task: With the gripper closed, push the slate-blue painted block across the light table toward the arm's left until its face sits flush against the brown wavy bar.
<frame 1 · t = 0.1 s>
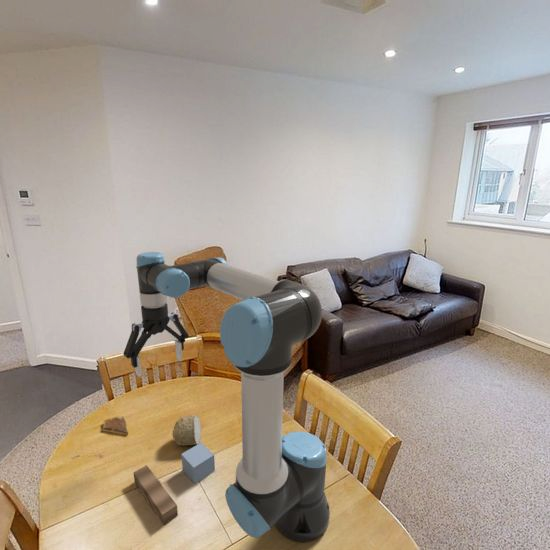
hand: (159, 367, 112), 28 cm above the table, fingers open, 13 cm apart
cut rock: (188, 441, 120), on the table
brown wavy bar: (155, 497, 99), on the table
block: (198, 470, 108), on the table
shard: (119, 427, 127), on the table
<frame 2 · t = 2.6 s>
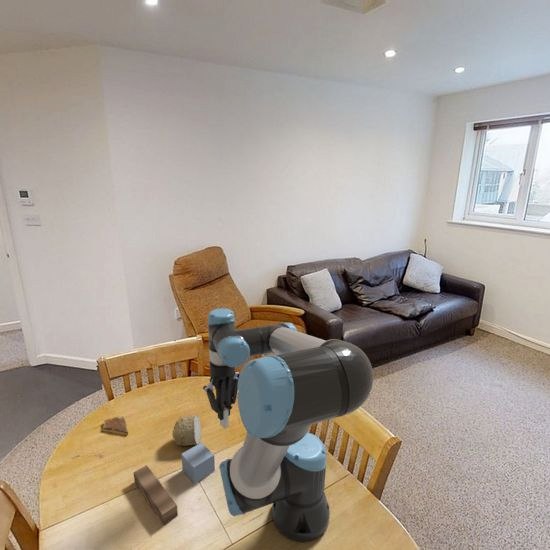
hand: (224, 425, 112), 10 cm above the table, fingers closed
nothing on the table moved.
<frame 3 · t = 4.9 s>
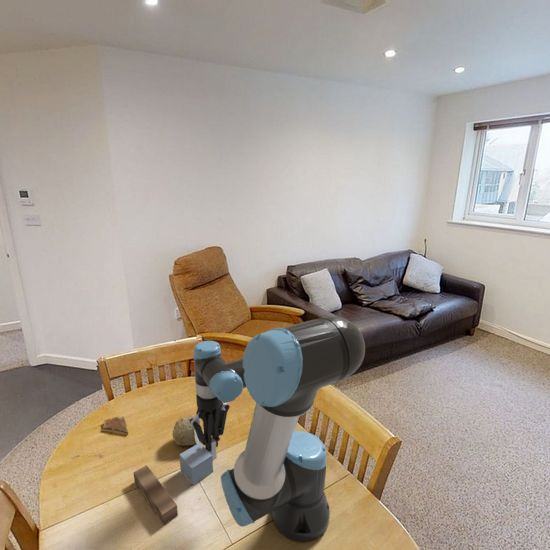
hand: (212, 456, 111), 2 cm above the table, fingers closed
block: (196, 471, 108), on the table, touching gripper
everything else where it was.
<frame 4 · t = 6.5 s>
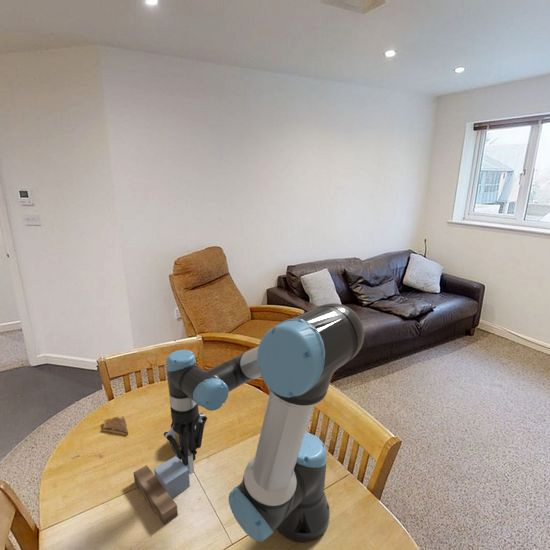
hand: (189, 470, 106), 2 cm above the table, fingers closed
block: (172, 485, 103), on the table, touching brown wavy bar, gripper
everything else where it was.
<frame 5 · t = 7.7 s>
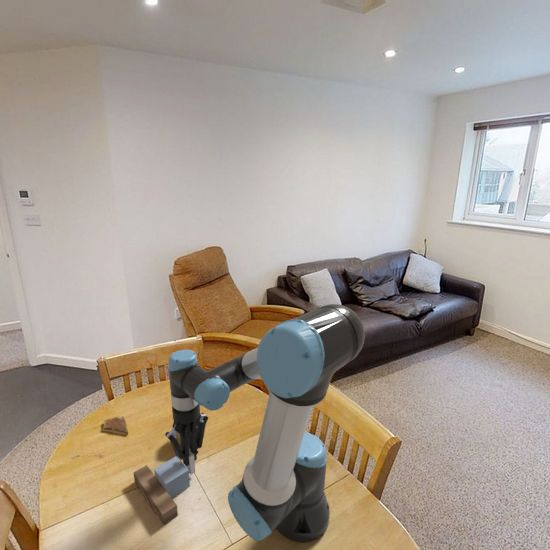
hand: (190, 471, 106), 1 cm above the table, fingers closed
block: (172, 486, 103), on the table
everything else where it was.
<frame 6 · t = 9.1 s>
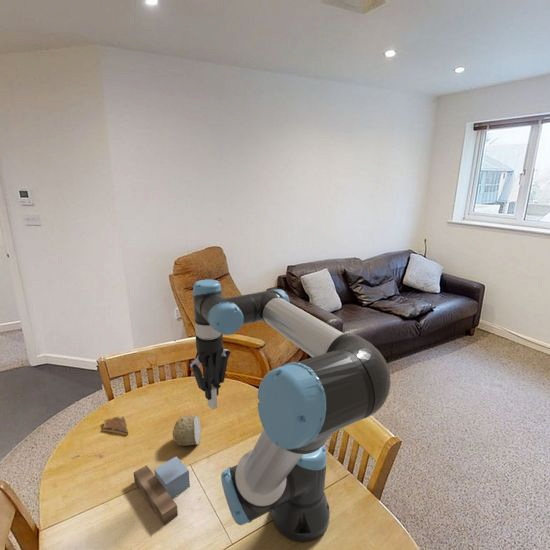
hand: (212, 406, 106), 20 cm above the table, fingers closed
nothing on the table moved.
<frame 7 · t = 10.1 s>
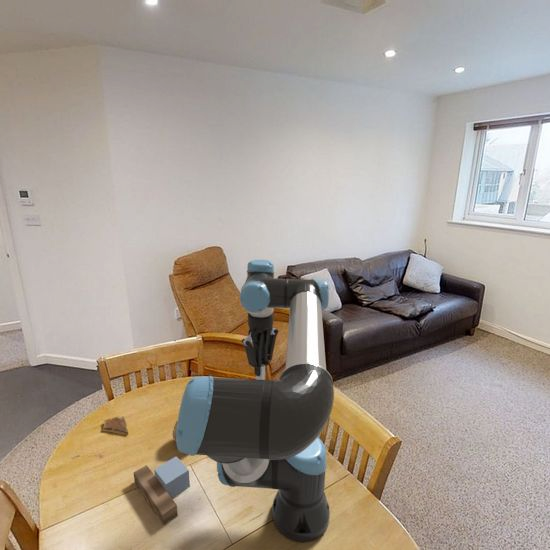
hand: (260, 383, 110), 24 cm above the table, fingers closed
nothing on the table moved.
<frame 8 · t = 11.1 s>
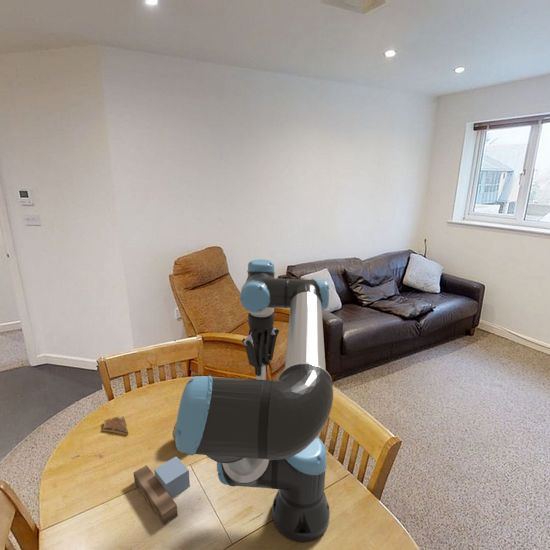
hand: (261, 382, 110), 24 cm above the table, fingers closed
nothing on the table moved.
at the end: block inside the target area on the table beside the brown wavy bar (0.3 cm from its centre), on the table; block tilted 0° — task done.
